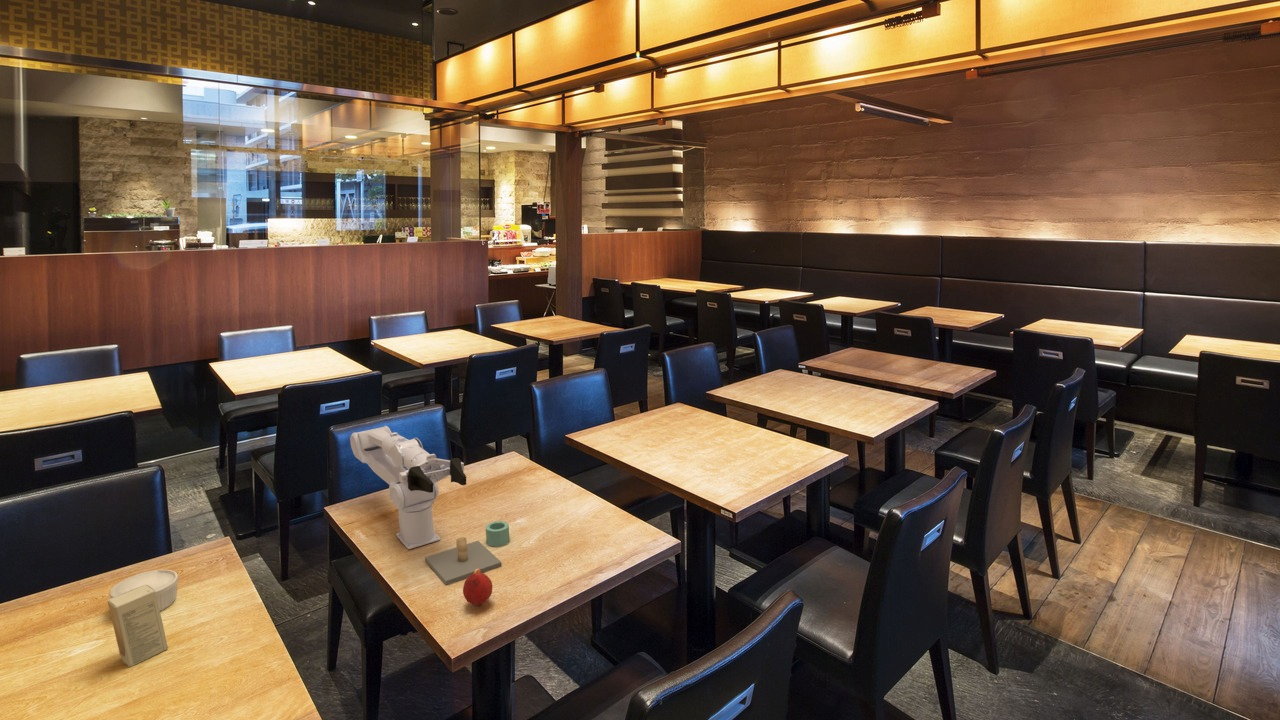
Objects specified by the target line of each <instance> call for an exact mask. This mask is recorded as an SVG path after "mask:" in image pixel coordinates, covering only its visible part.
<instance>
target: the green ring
mask: <svg viewBox="0 0 1280 720" xmlns="http://www.w3.org/2000/svg"><path fill="white" fill-rule="evenodd" d="M485 538H486V540H485V541H486V545H487V546H489V547H502V546H505V545H507V544H508V543H510V525H509V523H508V522H507V521H503V520H496V521H491V522H489V523H488V524H486V526H485Z"/></svg>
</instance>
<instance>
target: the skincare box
mask: <svg viewBox="0 0 1280 720" xmlns="http://www.w3.org/2000/svg"><path fill="white" fill-rule="evenodd" d="M107 605H108V608H109V613H110V617H111V621H112V626H113V630H114V635H115V639H116V643H117V648H118V652H119V656H120V659H121V661H122V662H123V663H124V664H125V665H126V666H127V667H128V668H131V667H133V666H135V665H137V664H140V663H141V662H143V661H146V660H148V659H150V658H152V657H154V656H156V655H158V654H160V653H162V652H164V651H166V650H168V649H169V646H168V643H167V638H166V633H165V628H164V624H163V619H162V615H161V611H160V609H159V605H158V600H157V596H156V591H155V590H154V589H153V588H151V587H150V586H148V585H147V584H145V585H143V586H140V587H138V588H135V589H133V590H130V591H128V592H126V593H123V594H121V595H118V596H116V597H113V598H109V599H107Z"/></svg>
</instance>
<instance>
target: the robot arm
mask: <svg viewBox="0 0 1280 720" xmlns="http://www.w3.org/2000/svg"><path fill="white" fill-rule="evenodd" d="M349 441H350V448H351V450H352V452H353V456H355V458H356V459H358V461H360V462H361V463H362V464H365V465H368V467H369V468H370V469H371V470H372V471H373V472H374V474H376V475H377V476H378V477H379V478H380V479H382V480H383V481H384V482H385V483H386V484H388V485H389V487H388V491H389V493H388V494H389V497H390V500H391V501H392V503H393V505H394V507H395V508H397V509H398V511H397V513H398V525H399V532H397V533H396V534H395V536H396V537H397V538H398V539H399V541H400V542H401V543H402V544H403V545H404V547H406V549H407V550H412V549H414V548H418V547H423V546H424V545H427V544H431V543H434V542H438V541H440V540H441V537H440V536H439V535H438V534H437V533H436V532H435V529H434V517H433V506H432V505H434V504H435V500H437V498H438V497H439V496H438V495H439V490H440V489H439V486H438V485H439V484H438V482H440V481H441V480H443V479H445V478H447V477H449V476H450V483H456V484H459V485H460V486H467V475H466V474H465V472H464V471H465V464H464V462H462V460H461V459H460V458H458V457H456V458H450V459H442V458H437V455H436V454H435V453H431V454H430V453H429V452H428V451H426V450H425V449H424V447H423V444H422V442H421V440H420V439H419V438H418V437H413V438H412V439H407V438H406V437H404V436H402V435H400V434H399V432H394V431H393V432H392V431H391V428H390V427H389V426H387V425H384V426H382V427H378V428H372V429H367V430H363V431H359V432H352V434H350V437H349Z"/></svg>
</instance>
